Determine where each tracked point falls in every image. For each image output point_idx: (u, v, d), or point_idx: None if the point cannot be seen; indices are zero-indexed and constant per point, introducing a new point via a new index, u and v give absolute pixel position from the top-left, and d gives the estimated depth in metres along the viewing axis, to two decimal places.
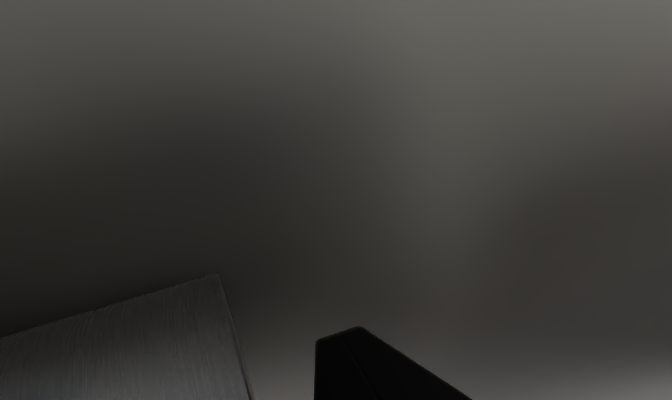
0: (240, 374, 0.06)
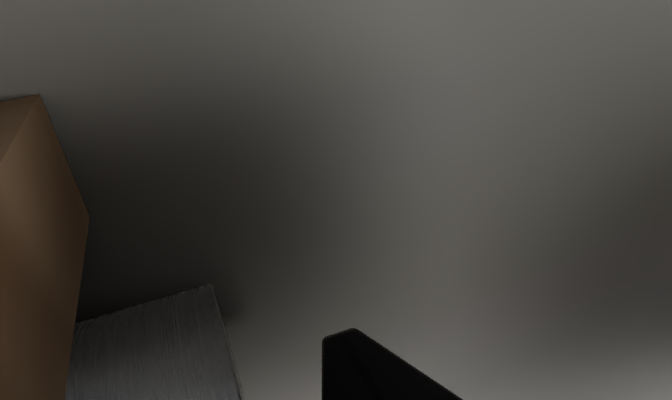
0: (235, 390, 0.06)
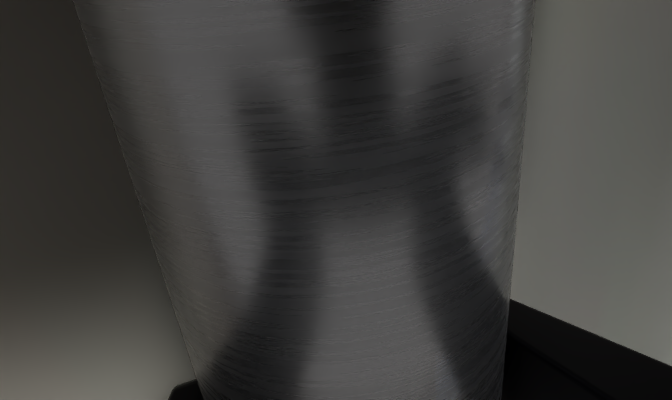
0: None
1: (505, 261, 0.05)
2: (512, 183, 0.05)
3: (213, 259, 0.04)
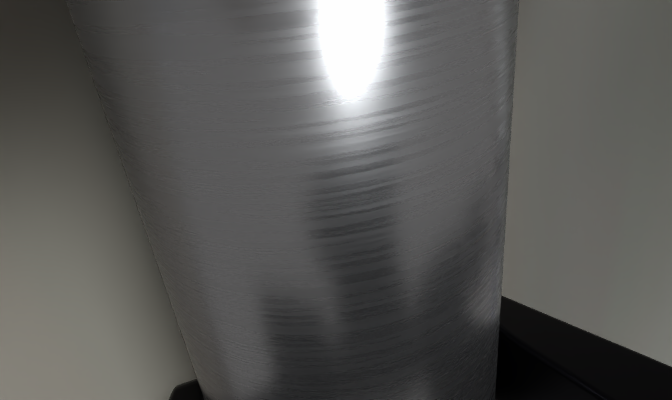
0: None
1: None
2: None
3: None
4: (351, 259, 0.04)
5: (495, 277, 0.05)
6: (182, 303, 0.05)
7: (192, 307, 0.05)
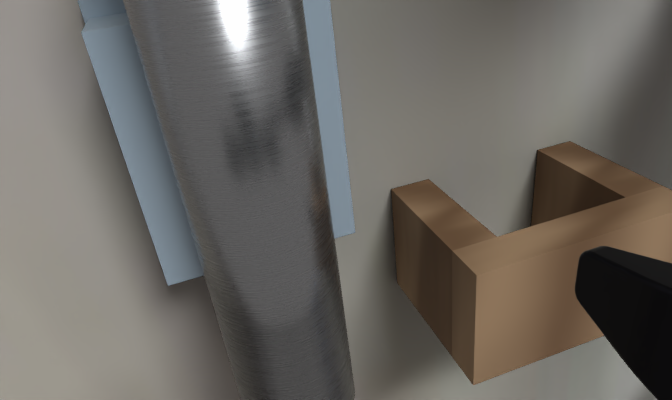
0: None
1: (319, 251, 0.14)
2: (316, 225, 0.14)
3: (216, 249, 0.13)
4: (212, 58, 0.11)
5: (293, 88, 0.12)
6: (154, 91, 0.12)
7: (157, 92, 0.12)
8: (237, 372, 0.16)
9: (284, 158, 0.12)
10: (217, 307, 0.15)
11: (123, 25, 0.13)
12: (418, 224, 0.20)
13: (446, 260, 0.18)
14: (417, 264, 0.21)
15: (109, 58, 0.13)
